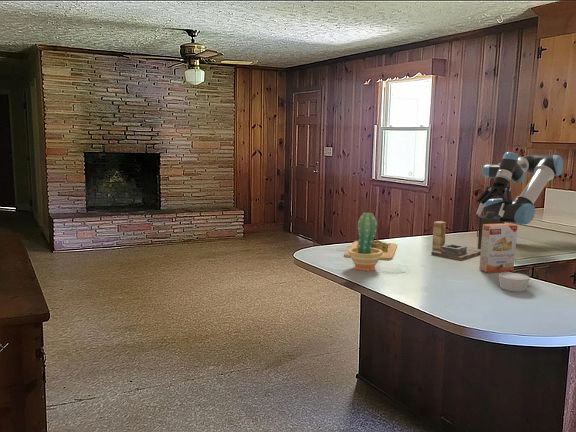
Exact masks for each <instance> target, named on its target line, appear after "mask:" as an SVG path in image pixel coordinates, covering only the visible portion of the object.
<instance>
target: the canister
mask: <svg viewBox="0 0 576 432" xmlns="http://www.w3.org/2000/svg"><path fill="white" fill-rule="evenodd" d="M494 213H495V212H486V216H484V215H480V216H479V215H478V216H477V228H476V237H477V238H478V240H477V248H476V249H481V241H482V229H483V224H500V219H501V218H500V217H497V216H494ZM495 214H496V213H495Z"/></svg>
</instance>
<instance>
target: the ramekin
mask: <svg viewBox="0 0 576 432" xmlns="http://www.w3.org/2000/svg"><path fill="white" fill-rule="evenodd" d="M498 279H499V286H500V288H501V289H503V290H505V291H509V292H514V293H515V292H518V293H521V292H525V291H526V290H527V289H528V284H529V281H530V276H528V275H527V274H523V273H517V272H499V273H498Z"/></svg>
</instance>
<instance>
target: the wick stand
mask: <svg viewBox="0 0 576 432" xmlns="http://www.w3.org/2000/svg"><path fill="white" fill-rule="evenodd" d="M480 254H481V249H477V248H475V247H470V246H466V245H464V246H463V245H459V244H453V243H449V244H445V245H444V246H441V249H440V250H439V249H435V250H433V251H431V256H437V257H442V258H447V259H452V260H457V261H464V260H467V259H470V258H473V257H477V256H480Z"/></svg>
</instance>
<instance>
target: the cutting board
mask: <svg viewBox="0 0 576 432" xmlns="http://www.w3.org/2000/svg"><path fill="white" fill-rule="evenodd" d="M358 243H359V240H355V241H353V242H352V243H351V245H350V246H349V247H348V248H347V250H346V251H345V252H344V254H343V257H345V258H351V255H350V254H349V252H348V250H349V249H351V248H356V247H358ZM371 248H376V249H380V250H382V251H383V253H382V255H381V256H380V258H379V261H380V260H382V261H391V260H393V259H394V256H395V253H396V251H397V249H398V244H397V243H393V242H383V241H380V240H379V239H376V240H374V239H373V243H372V247H371Z"/></svg>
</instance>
